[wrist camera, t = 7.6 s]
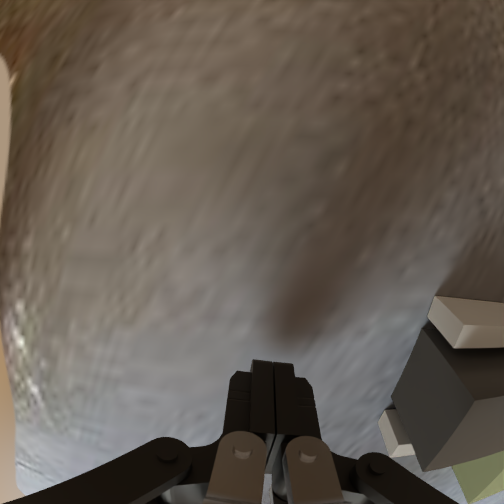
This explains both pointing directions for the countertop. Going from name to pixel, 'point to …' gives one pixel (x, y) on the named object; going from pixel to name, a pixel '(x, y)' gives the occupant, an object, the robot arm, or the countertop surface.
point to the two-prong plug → (459, 336)
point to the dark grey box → (451, 401)
